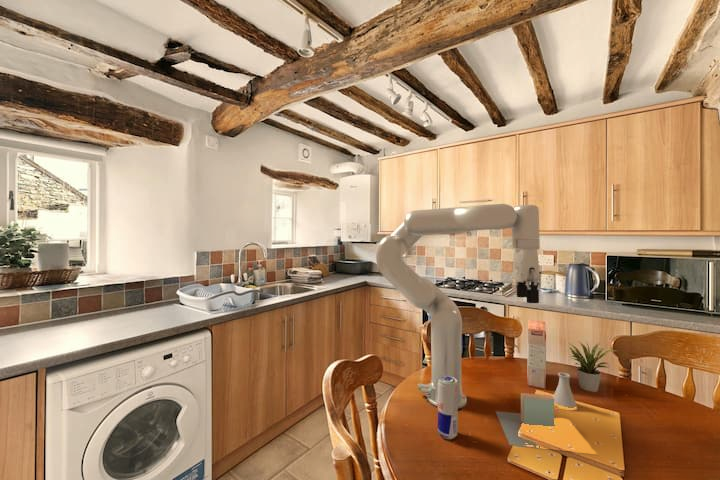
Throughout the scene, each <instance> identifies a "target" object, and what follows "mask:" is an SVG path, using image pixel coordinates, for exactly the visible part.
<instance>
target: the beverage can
mask: <svg viewBox="0 0 720 480" xmlns="http://www.w3.org/2000/svg"><path fill="white" fill-rule="evenodd" d="M458 418H459V417H458V409H457V380H456V379H455V378H453V377H450V376H440V377H439V378H438V407H437V432H438V433H439V435H440V436H441V437H442V438H444V439H446V440H453V439H455V438H456V437H457V436H458V428H459V427H458V426H459V425H458V421H459V420H458Z"/></svg>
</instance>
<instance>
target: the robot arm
mask: <svg viewBox="0 0 720 480" xmlns="http://www.w3.org/2000/svg"><path fill="white" fill-rule="evenodd" d="M403 219H404V220H403V222H402V223H401V224H400V225H399V226H398V227H397V228H396V230H394V231H393V232H392V234H389V235H386V236H384V237H383V238H382V239H381V240H380V241H379V243H378V246H377V248H376V252H375V260H376V266H377V268H378V269H379V272H380V274H381V275H382V276H383V277H384V278H385V279H386V280H387V281H388V282H389V283H390V284H391V285H392V286H393V287H394V288H395V289H396V290H397V291H398V292H399V293H400V294H401V295H402V296H403V297H404V298H405V299H406V300H407V301H408V302H409V303H410V304H411V306H413V307H414V308H417V309H420V310H423V311H425V312H426V314H427V315H428V316H430V338H431V339H430V342H431V344H430V345H431V347H430V352H431V353H430V354H431V356H430V357H431V367H430V369H431V371H430V372H431V380H430V383H427V384H424V383H417V391H421V394H426V399H427V401H428V402H429V403H430V404H432V406H435V407H437V408H438V378H439V377H440V376H450V377H453V378H455V379H456V380H457V410H460V409H462V408H464V407H465V406H466V405H467V403H468V402H467V400H468V399H467V396H466V395H465V394H464V393H463V392H462V387H463V386H462V380H463V379H462V335H463V334H462V333H463V319H462V318H463V317H462V314H461V312H460V309H459V308H458V306H457V304H456V303H455V302H454V301H453V299H452V298H450V297H449V296H448V295H447V294H445V292H443V290H442V289H440V288H439V287H438V286H437V285H436V284H435V283H433V282H432V281H431V280H430V279H428V278H425V277H421V276H420V275H419V274H418V273H417V272H415V271H414V270H413V269H412V268H411V267H410V266H409V265H408V264H407V263H406V262H405V261H404V259H403V256H404V255H405V254H406V253H407V252H408V251H409V250H410V249H411V248H412V247H413V246H414V245H415V244H416V243H417V242H418V241H419V240H420V239H421V238H422V237H423V236H433V235H435V236H436V235H452V234H453V235H454V234H461V233H465V232H473V231H485V230H486V231H487V230H496V231H500V230H506V229H511V236H512V237H511V238H512V240H511V241H512V251H513V268H512V269H513V270H512V271H513V273H512V275H513V279H514V280H515V281H516V282H515V283H516V297H517V298H526V303H527V304H539V303H540V296H539V295H540V291H539V290H540V287H539V286H540V282H539V281H540V264H539V263H540V261H539V251H538V250H541V247H540V246H541V242H540V241H541V239H540V238H541V237H540V236H541V235H540V210H539V207H538V206H537V205H536V204H524V205H516V206H512V205H510V204H507V203H494V204H481V205H479V204H478V205H472V206H471V205H470V206H454V207H445V208H443V207H442V208H432V209H431V208H429V209H417V210H411V211H410V212H408V213H407V214H406V215H405V216H404V218H403Z"/></svg>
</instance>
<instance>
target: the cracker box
mask: <svg viewBox="0 0 720 480" xmlns="http://www.w3.org/2000/svg"><path fill="white" fill-rule="evenodd" d="M546 375H547V328H546V322H545V321H542V320H532V319H528V326H527V386H528V387H533V388H538V389H541V390H542V389H543V390H546V379H547V378H546Z"/></svg>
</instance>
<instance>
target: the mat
mask: <svg viewBox="0 0 720 480" xmlns="http://www.w3.org/2000/svg"><path fill="white" fill-rule="evenodd" d="M495 413H496V414H495V415H496V416H497V418H498V421H499V422H500V426H501V427H502V430H503V433H504V435H505V437H506V440H507V442H508V445H509V446H515V447H522V448H528V447H527V446H524V445H533V446H534V447H531V449H537V448H536V446H537V445H536V444H535V443H533V442H530V441H529V440H525V439H523V438H521V437H519V436H518V431H519V429H520V427H521V424H522V422H521V413H520V412H519V413H517V412H507V411H498V410H495ZM525 443H528V444H525ZM539 448H540V446H539Z"/></svg>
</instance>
